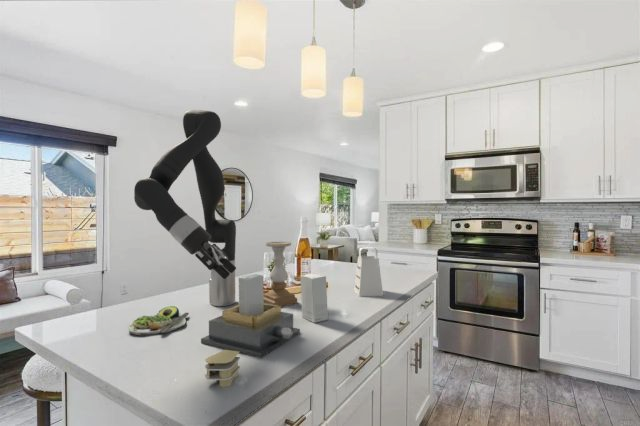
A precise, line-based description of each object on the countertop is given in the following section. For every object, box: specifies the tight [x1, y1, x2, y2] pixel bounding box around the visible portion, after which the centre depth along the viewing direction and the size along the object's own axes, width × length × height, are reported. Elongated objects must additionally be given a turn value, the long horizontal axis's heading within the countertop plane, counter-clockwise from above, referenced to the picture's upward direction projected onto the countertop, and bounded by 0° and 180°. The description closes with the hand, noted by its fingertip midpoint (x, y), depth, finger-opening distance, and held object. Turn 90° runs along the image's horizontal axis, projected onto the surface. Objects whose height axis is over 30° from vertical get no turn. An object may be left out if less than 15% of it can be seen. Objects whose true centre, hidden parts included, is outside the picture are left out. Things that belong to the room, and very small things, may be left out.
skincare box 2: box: [299, 273, 329, 324], centre depth 115 cm, size 8×6×15 cm
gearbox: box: [200, 303, 301, 359], centre depth 97 cm, size 24×19×8 cm
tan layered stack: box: [204, 349, 241, 388], centre depth 74 cm, size 10×9×6 cm
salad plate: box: [128, 305, 190, 337], centre depth 108 cm, size 19×18×5 cm
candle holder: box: [264, 241, 298, 307], centre depth 135 cm, size 11×11×24 cm
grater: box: [353, 246, 384, 297], centre depth 149 cm, size 10×10×20 cm
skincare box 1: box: [238, 273, 264, 316], centre depth 98 cm, size 6×4×12 cm
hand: (231, 273), depth 98 cm, fingers open, 8 cm apart
